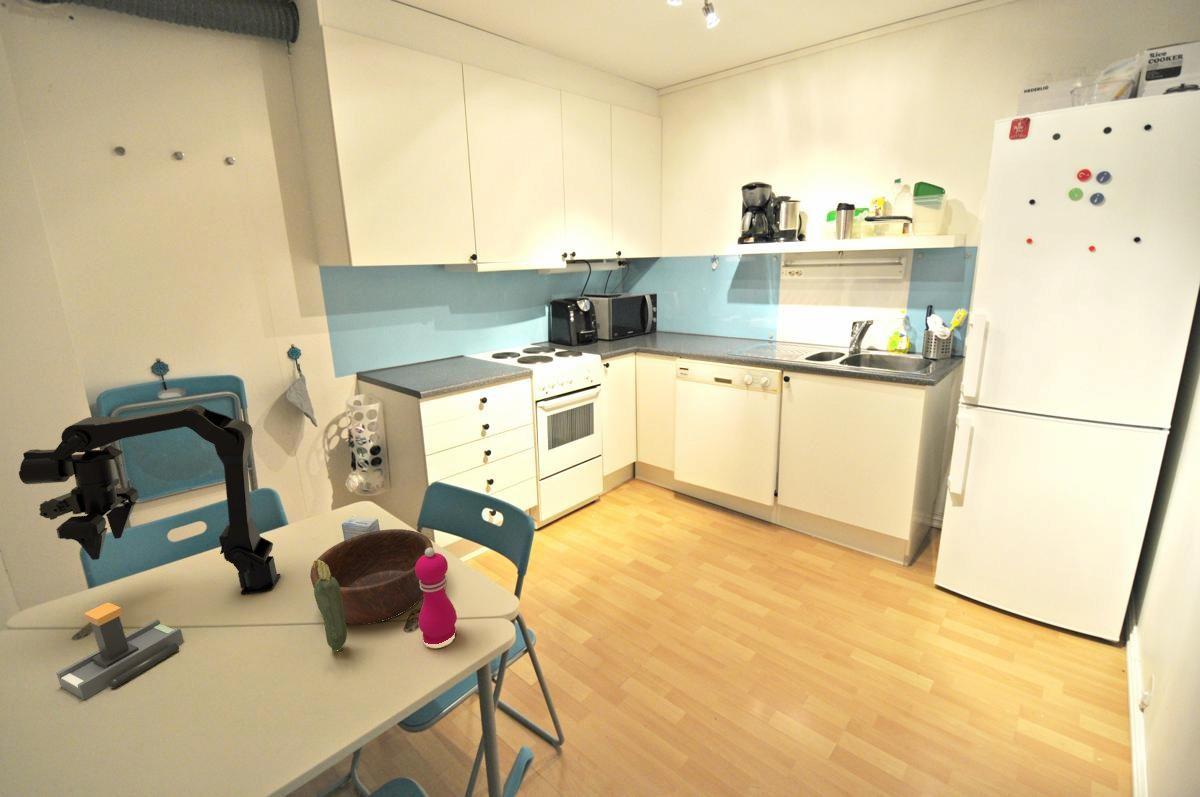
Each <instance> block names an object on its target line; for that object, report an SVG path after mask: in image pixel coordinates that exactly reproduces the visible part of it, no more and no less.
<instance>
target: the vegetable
mask: <svg viewBox="0 0 1200 797" xmlns="http://www.w3.org/2000/svg"><path fill="white" fill-rule="evenodd" d="M316 565H318V574H319V577H320V579H319V580H318V581H317V582H316V584H315V587H313V594H314V599H315V602H316V606H317V608H318V611H319V612H320V614H321V617H322V620H323V623H324V631H325V636H326V643H327V645H328V646H329V647H330V649H331V651H332V652H338V651H340V650H341V648H342V647H344V645H345V643H346V641H347V635H348V630H347V629H348V628H347V627H348V626H347V623H346V622H345V617H344V609H343V602H342V596H341V590H340V586H339V583H338V582H337V580H336V579H335V578H334V577H331V576H330V575H331V573H330V570H329V567H328V565H327V564H326V563H324V562H323V561H321V560H317V559H315V560H314V561H313V562H312V566H314V567H313V568H315V566H316ZM337 650H338V651H337Z"/></svg>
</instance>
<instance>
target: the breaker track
mask: <svg viewBox="0 0 1200 797" xmlns="http://www.w3.org/2000/svg"><path fill="white" fill-rule="evenodd" d="M181 629H182V628H180V627H177V628H175V629H174V628H171V627H168V626H166V625H164V624H161V621H160V619H158V618H156V619H155V620H153V621H150V622H149V623H147V624H145V625H143V626H141V627H139V628H137V629H136V630H134V631H132V632H129V633H128V634H127V635H125V637H126V641H127V643H129V644H132V645H134V646H136V647H138V648H139V650H138V651H136V652H134V653H132V654H131V655H129V656H127V657H125V658H124V659H122V660H120V661H118V662H117V663H115V664H113V665H111V666H109V667H108V668H104V667H102V666H100V665H98V664H96V663H94V662H93V661H92V657H94V656H96V655H98V654H100V651H99V649H98V650H97V651H94V652H93V653H90V654H89V655H87V656H86V657H83V658H82V659H80V660H77V661H76V662H74V663H72V664H70V665H69V666H66V667H65V668H63V669H61V670H58V671H57V672H56V675H57V676H56V677H57V679H58V683H59V685H60V687H61V688H62V689H64V690H66V691H67V692H69V693H71V694H73V695H75V696H77V697H78V698H79V699H82V700H83V701H86V700H88V699H90V698H91V697H93V696H94V695H96V694H98V693H99V692H101V691H103V690H104V689H106V688H108V687H110V688H112V689H113V688H117V687H120V686H121V685H123V684H125V683H126V682H129V681H130V680H131V679H133V678H134V677H136V676H138V675H139V674H142V673H143V672H145V671H146V670H148V669H149V668H152V667H153V666H155V665H156V664H157V663H159V662H161V661H163V660H164V659H166V658H168V657H170V656H171V655H173V654H174V653H177V652H178V651H179V650H180V647H179V645H180V643H181V644H182V643H184V642H185V641H184V637H183V633H182V630H181ZM92 695H93V696H92Z"/></svg>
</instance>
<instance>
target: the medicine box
mask: <svg viewBox="0 0 1200 797" xmlns="http://www.w3.org/2000/svg"><path fill="white" fill-rule="evenodd" d="M379 522H380V521H379V518H374V517H364V516H354V515H353V516H351V517H349V518H348V519H346V520H345V521H344V522H342V523H341V529H342V530H341V531H342V536H343V541H345V540H347V539H350V538H352V537H355V536H358V535H362V534H365V533H369V532H374V531H380V530H381V529H380V524H379Z"/></svg>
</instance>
